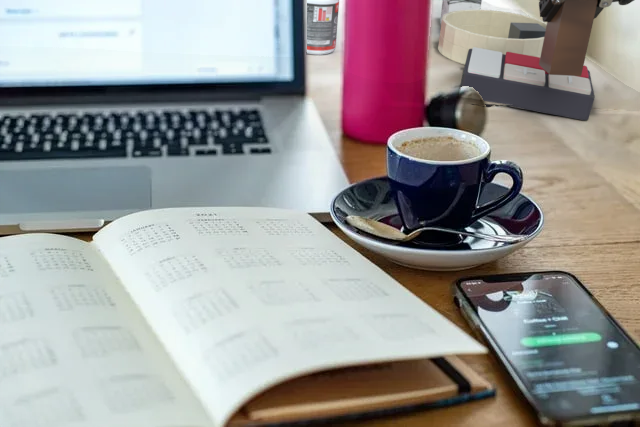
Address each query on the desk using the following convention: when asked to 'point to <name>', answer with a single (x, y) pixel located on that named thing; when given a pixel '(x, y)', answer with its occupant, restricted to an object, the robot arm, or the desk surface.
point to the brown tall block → (568, 38)
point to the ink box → (459, 6)
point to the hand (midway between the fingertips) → (563, 15)
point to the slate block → (526, 31)
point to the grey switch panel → (527, 84)
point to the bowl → (484, 34)
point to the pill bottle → (322, 26)
